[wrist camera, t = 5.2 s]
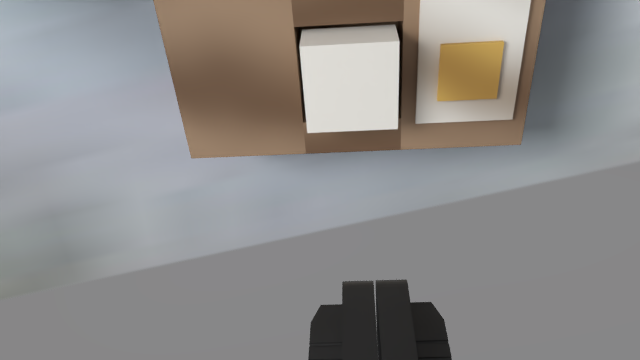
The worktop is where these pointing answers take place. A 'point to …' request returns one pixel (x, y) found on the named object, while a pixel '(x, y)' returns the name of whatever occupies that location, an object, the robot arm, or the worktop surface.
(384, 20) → the button board
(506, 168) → the worktop surface
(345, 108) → the button
